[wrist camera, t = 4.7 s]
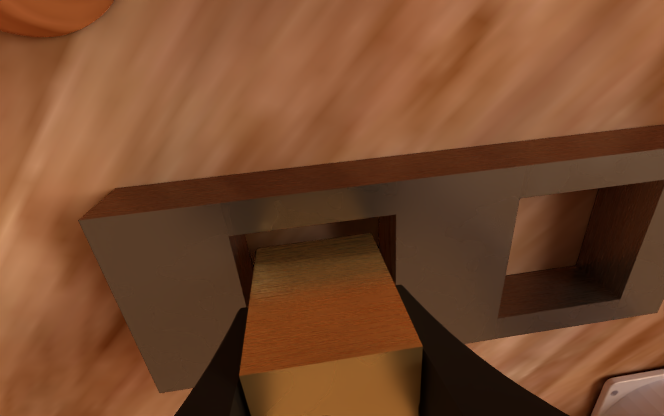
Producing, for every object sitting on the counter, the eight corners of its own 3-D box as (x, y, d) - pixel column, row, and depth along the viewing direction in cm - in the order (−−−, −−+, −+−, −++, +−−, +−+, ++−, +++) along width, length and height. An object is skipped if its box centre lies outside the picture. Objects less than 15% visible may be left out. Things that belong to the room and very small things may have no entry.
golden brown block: (374, 318, 14) (416, 450, 9) (274, 333, 13) (269, 478, 9) (371, 232, 12) (423, 346, 7) (256, 248, 12) (239, 375, 7)
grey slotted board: (665, 124, 14) (737, 139, 12) (610, 278, 18) (657, 312, 15) (115, 188, 12) (78, 220, 10) (177, 344, 16) (159, 393, 14)
